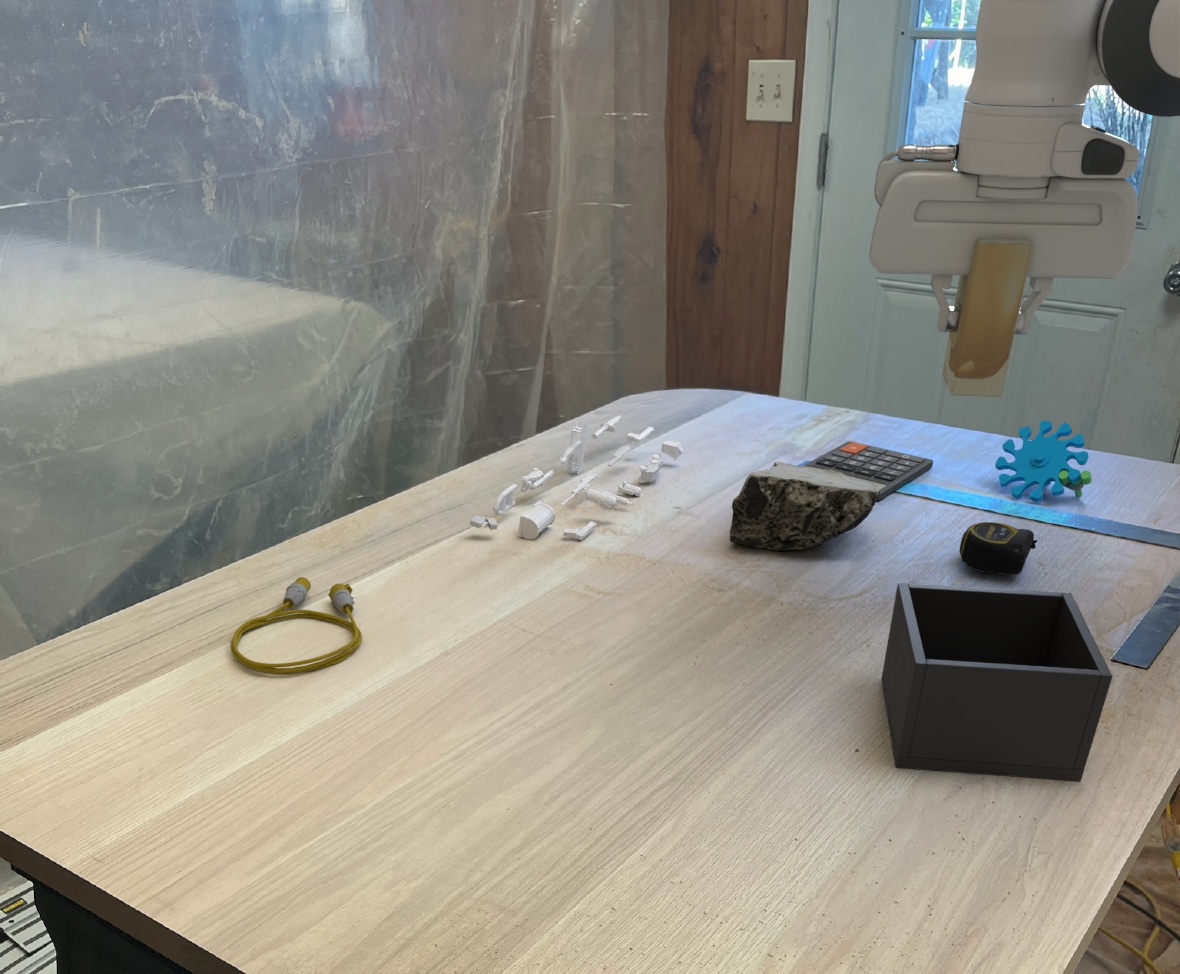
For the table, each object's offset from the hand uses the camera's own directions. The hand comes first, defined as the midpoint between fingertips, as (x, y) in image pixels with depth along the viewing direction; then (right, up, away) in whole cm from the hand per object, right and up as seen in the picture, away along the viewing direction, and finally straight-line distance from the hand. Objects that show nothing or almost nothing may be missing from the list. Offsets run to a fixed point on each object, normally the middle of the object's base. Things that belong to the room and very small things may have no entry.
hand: (981, 332), depth 97 cm
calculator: (0, 0, +43) cm, 43 cm away
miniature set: (-33, -5, +36) cm, 49 cm away
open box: (-2, -34, -5) cm, 34 cm away
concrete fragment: (-11, -12, +26) cm, 31 cm away
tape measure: (+9, -16, +20) cm, 27 cm away
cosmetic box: (0, -4, +3) cm, 5 cm away
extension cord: (-59, -25, +7) cm, 64 cm away
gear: (+19, -4, +37) cm, 42 cm away
